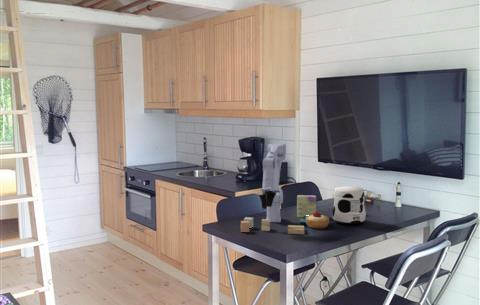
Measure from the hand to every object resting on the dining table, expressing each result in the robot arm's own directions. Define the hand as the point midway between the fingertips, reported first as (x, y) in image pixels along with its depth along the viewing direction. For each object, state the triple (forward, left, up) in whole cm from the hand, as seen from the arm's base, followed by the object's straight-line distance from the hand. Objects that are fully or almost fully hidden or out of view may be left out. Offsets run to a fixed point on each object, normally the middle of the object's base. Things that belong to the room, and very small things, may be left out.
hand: (266, 207), depth 219 cm
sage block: (-4, -10, -12) cm, 16 cm away
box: (-31, +20, -12) cm, 39 cm away
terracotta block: (+3, -11, -12) cm, 16 cm away
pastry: (-10, +25, -12) cm, 30 cm away
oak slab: (+1, +14, -12) cm, 19 cm away
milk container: (-20, +42, -12) cm, 48 cm away
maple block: (-1, -1, -12) cm, 12 cm away
